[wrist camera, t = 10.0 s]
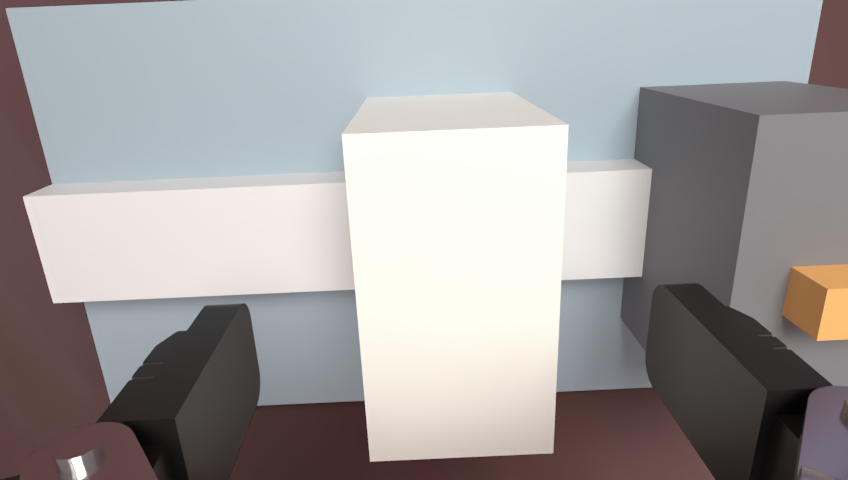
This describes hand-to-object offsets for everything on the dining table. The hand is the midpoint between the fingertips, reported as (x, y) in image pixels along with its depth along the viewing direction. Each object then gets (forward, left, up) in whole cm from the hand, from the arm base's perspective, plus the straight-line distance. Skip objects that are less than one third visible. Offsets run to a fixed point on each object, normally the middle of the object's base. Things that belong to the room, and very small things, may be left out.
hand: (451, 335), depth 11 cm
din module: (0, 0, -8) cm, 8 cm away
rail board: (0, 0, -10) cm, 10 cm away
